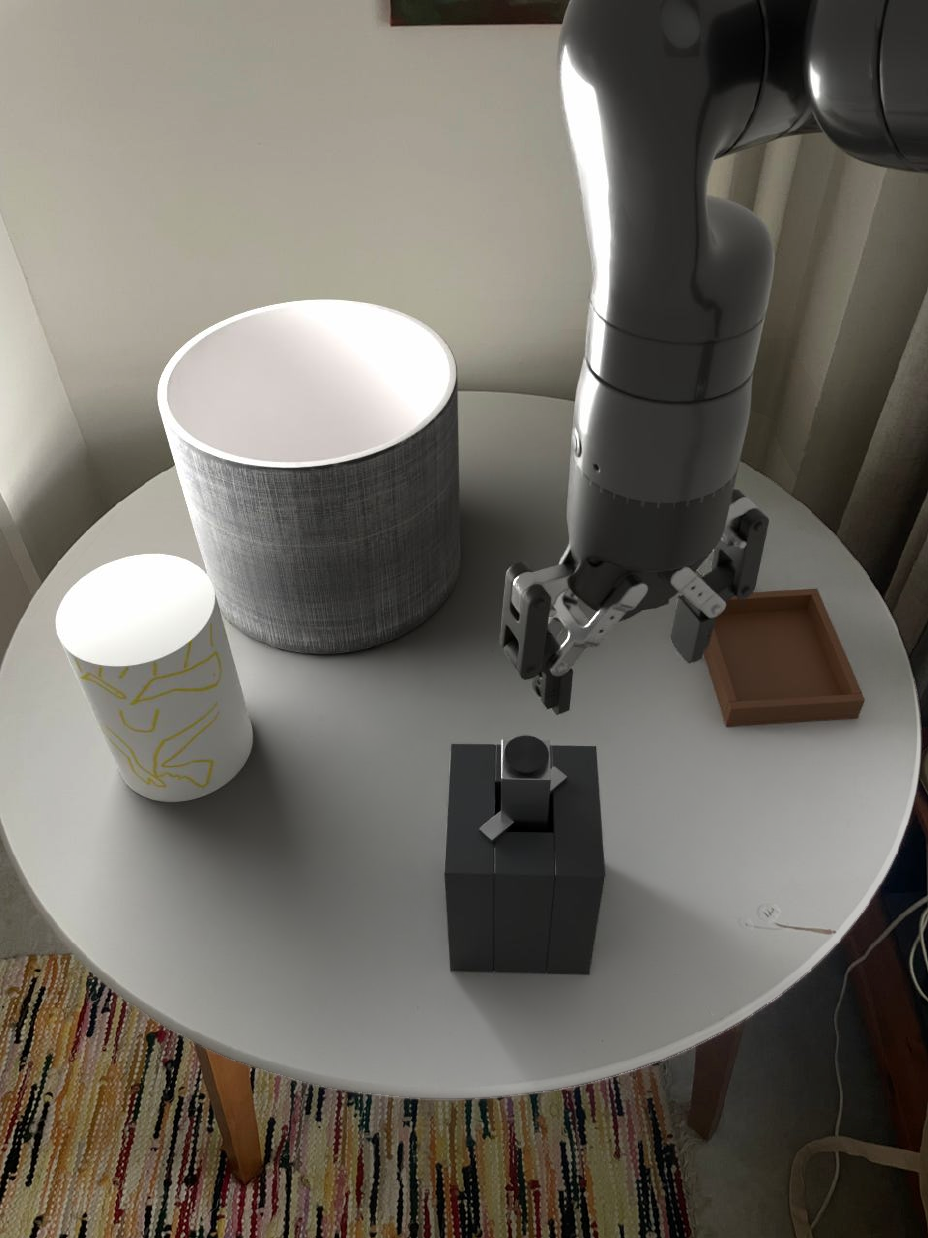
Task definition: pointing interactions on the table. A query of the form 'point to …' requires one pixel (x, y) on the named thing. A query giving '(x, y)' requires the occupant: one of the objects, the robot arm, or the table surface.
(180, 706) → the white patterned cylinder
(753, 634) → the tray
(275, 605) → the planter
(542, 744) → the grey square bar
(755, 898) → the table surface
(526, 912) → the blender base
